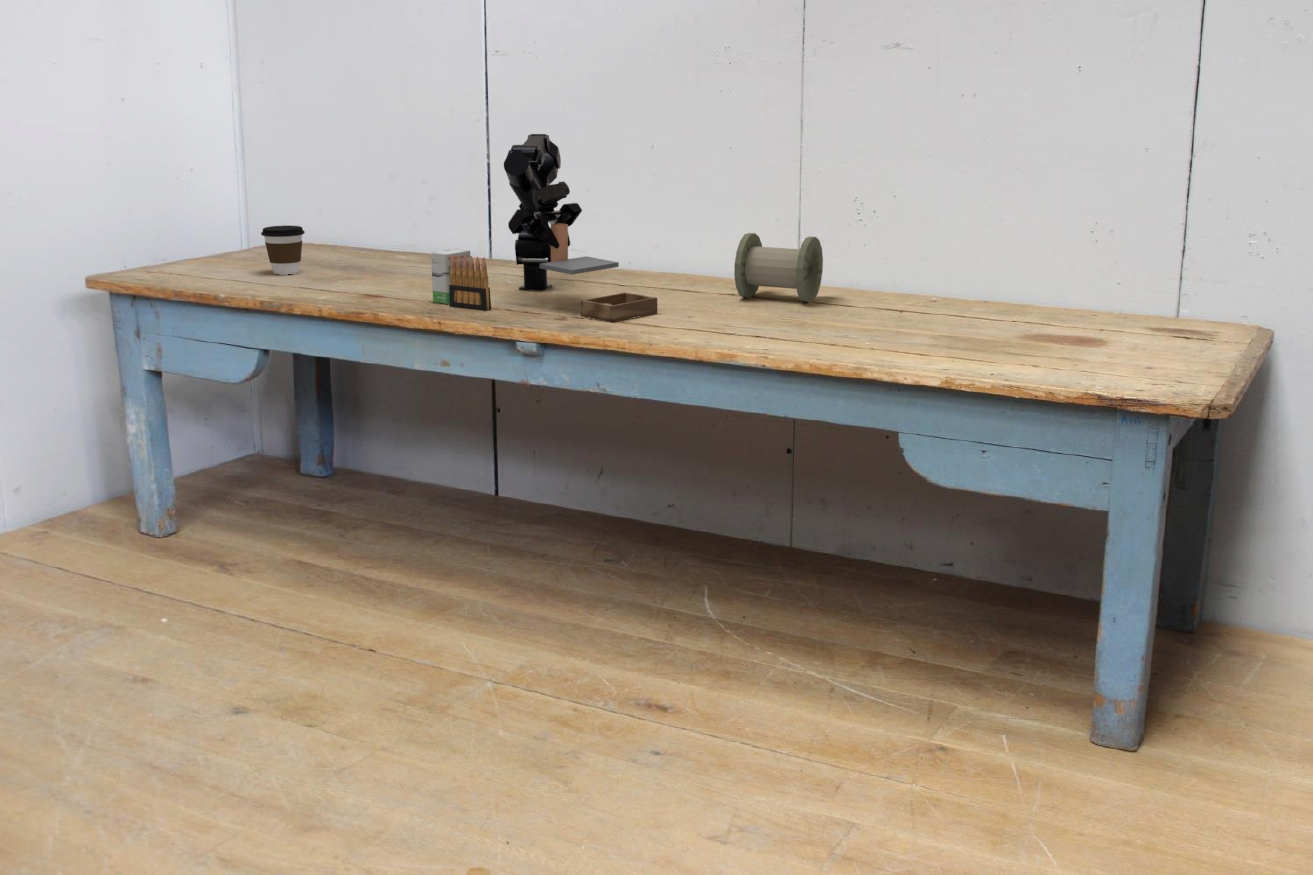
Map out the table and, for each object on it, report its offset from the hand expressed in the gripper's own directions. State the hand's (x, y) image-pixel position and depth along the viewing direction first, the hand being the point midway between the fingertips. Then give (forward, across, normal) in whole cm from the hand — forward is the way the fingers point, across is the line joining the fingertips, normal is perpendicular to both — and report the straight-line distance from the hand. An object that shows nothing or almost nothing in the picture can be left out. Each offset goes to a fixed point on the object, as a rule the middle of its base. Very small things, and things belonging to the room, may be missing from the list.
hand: (563, 246), depth 295 cm
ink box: (-6, -15, +26) cm, 30 cm away
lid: (+6, 0, 0) cm, 6 cm away
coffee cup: (-51, -19, +71) cm, 90 cm away
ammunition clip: (+1, -18, +18) cm, 26 cm away
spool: (+32, +39, -13) cm, 52 cm away
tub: (+22, 0, -3) cm, 22 cm away
